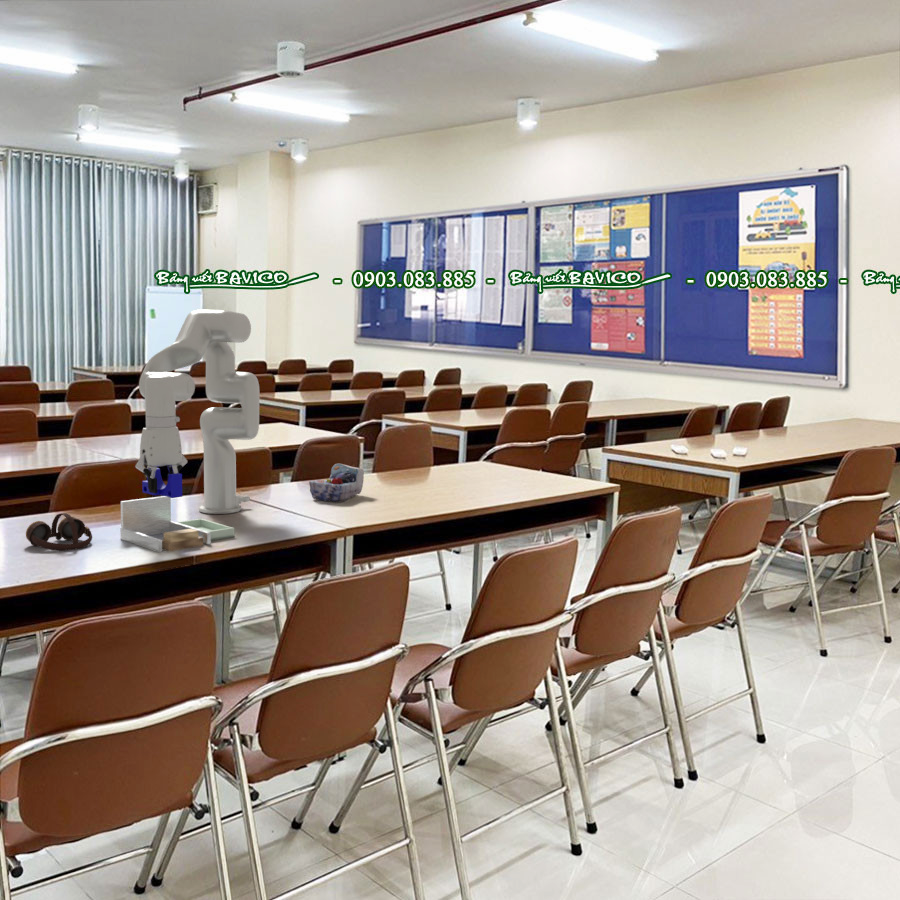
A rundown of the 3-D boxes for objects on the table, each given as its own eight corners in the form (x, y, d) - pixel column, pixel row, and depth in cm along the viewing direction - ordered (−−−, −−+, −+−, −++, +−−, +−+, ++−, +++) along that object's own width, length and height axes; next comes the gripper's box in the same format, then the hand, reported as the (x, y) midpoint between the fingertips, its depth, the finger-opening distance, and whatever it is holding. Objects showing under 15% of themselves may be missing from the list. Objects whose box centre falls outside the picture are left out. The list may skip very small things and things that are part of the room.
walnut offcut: (193, 544, 268) (193, 535, 268) (203, 547, 265) (203, 537, 265) (159, 550, 261) (159, 540, 261) (169, 553, 258) (168, 543, 258)
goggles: (77, 536, 272) (80, 501, 270) (102, 554, 264) (106, 519, 262) (21, 544, 261) (24, 508, 258) (46, 564, 253) (49, 527, 250)
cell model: (368, 463, 343) (340, 472, 324) (367, 495, 344) (340, 506, 326) (333, 460, 347) (304, 469, 329) (333, 491, 349) (304, 502, 331)
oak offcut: (191, 536, 267) (191, 528, 267) (198, 538, 264) (198, 530, 264) (163, 540, 261) (163, 532, 261) (170, 542, 259) (170, 534, 258)
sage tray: (201, 527, 287) (201, 518, 287) (234, 537, 276) (234, 527, 275) (174, 531, 281) (174, 522, 281) (206, 541, 270) (206, 532, 269)
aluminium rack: (170, 531, 281) (169, 495, 280) (210, 543, 267) (210, 506, 266) (119, 538, 271) (118, 501, 270) (158, 552, 257) (157, 513, 255)
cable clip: (142, 492, 271) (141, 469, 270) (157, 490, 274) (157, 468, 274) (167, 498, 263) (166, 475, 262) (182, 496, 266) (181, 473, 266)
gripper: (182, 418, 274) (183, 485, 277) (123, 423, 263) (125, 493, 265) (197, 421, 269) (198, 489, 272) (137, 426, 257) (139, 497, 260)
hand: (162, 490), depth 269 cm, fingers closed on cable clip, 4 cm apart
